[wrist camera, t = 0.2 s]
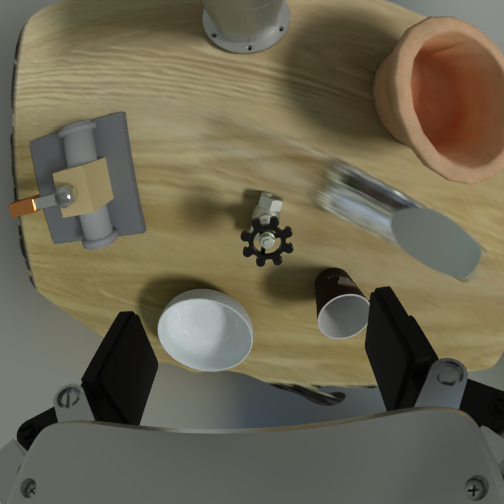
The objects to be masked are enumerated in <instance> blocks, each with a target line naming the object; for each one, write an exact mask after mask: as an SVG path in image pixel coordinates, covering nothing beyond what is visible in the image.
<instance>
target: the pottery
mask: <svg viewBox="0 0 504 504" xmlns="http://www.w3.org/2000/svg"><path fill="white" fill-rule="evenodd" d="M372 96H373V103H374V108H375V110H376V113H377V115H378V117H379V119H380V121H381V123H382V125H383V126H384V127H385V128H386V129H387V131H388V132H389V133H390V134H391V135H392V136H393V137H394V138H395V139H397V140H399V141H400V142H402V143H404V144H406V145H407V146H409V147H410V148H411V149H412V150H413V152H414V153H415V154H416V155H417V157H418V158H419V159H420V160H421V162H422V163H423V164H424V166H426V167H428V168H429V169H431V170H432V171H434V172H436V173H437V174H439V175H440V176H442V177H443V178H445V179H447V180H449V181H453V182H459V183H466V184H475V183H478V182H481V181H484V180H487V179H490V178H492V177H494V176H495V175H496V174H497V173H498V172H499V171H500V170H501V169H502V168H503V167H504V56H503V55H502V53H501V52H500V50H499V49H498V47H497V46H496V45H495V43H493V42H492V41H491V40H490V39H489V38H488V37H487V36H486V35H485V34H484V33H483V32H481V31H480V30H479V29H478V28H477V27H475V26H473V25H471V24H468V23H466V22H464V21H462V20H460V19H457V18H455V17H428V18H426V19H424V20H422V21H421V22H419V23H417V24H415V25H413V26H412V27H410V28H408V29H406V31H405V33H404V34H403V36H402V37H401V39H400V41H399V42H398V44H397V45H396V47H395V48H394V50H393V52H392V53H391V54H390V55H388V56H387V57H386V58H384V59H383V60H382V62H381V63H380V65H379V66H378V68H377V70H376V71H375V73H374V79H373V84H372Z"/></svg>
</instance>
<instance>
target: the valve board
mask: <svg viewBox="0 0 504 504" xmlns="http://www.w3.org/2000/svg"><path fill="white" fill-rule="evenodd" d="M61 129H62V130H61V131H58V132H55V133H53V134H50V135H47V136H45V137H42V138H40V139H37V140H34V141H32V142H30V146H31V152H32V158H33V163H34V169H35V173H36V178H37V183H38V187H39V192H40V196H43V195H47V194H50V193H54V192H56V190H57V189H58V188H60V187H62V186H64V185H71V186H72V187H73V188H75V190H76V194H77V199H76V201H75V202H74V203H73V204H72V205H70V206H69V207H67V208H60V207H59V206H58V205H55V206H50V207H46V208H44V212H45V215H46V219H47V222H48V226H49V229H50V233H51V236H52V239H53V242H54V244H57V243H65V242H73V241H81V240H82V244H83V247H84V248H86V249H90V250H96V249H100V248H104V247H106V246H108V245H110V244H112V243H113V242H114V241H115V240H116V239H117V238H118V236H123V235H132V234H141V233H144V232H145V231H146V226H145V222H144V217H143V212H142V208H141V203H140V198H139V193H138V188H137V183H136V177H135V172H134V166H133V160H132V154H131V148H130V142H129V135H128V128H127V121H126V113H125V112H120V113H116V114H112V115H109V116H105V117H101V118H98V119H95V120H85V121H80V122H76V123H73V124H70V125H67V126H64V127H62V128H61Z"/></svg>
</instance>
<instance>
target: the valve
mask: <svg viewBox="0 0 504 504" xmlns="http://www.w3.org/2000/svg"><path fill="white" fill-rule="evenodd" d="M282 204H283V199H282V198H281V197H279V196H277V195H275V194H272V193H267V192H261V195H260V198H259V201H258V205H257V206H256V207H255V208H254V210H253V212H252V224H251V227H250V230H249V232H247V230H244V231H242V233H241V240H242V241H248V242H249V247H246V246H245V247H244V248H243V255H244V256H245V257H250V256H251V255H252V254H254V255H255V256H257V257H258V258H256V264H257V265H258V266H259V267H262V266H264V265H265V261H266V260H267V259H272V260H273V263H274V264H275V265H280V264H281V263H282V257H281V256H280V254H281V253H282V252H286V253H291V252H293V245H292V243H290V242H289V244H288V243H286V238H288V237H291V236H292V229H291V228H290V227H289V226H286V227H285V229H283V230H281V229H280V228H279V227H277V226H278V225H279V220H280V210H281V207H282ZM274 232H276V233H274ZM275 238H281V244H280V247H279V248H278V249H277V250H276V251H275V252H273V253H268V254H267V253H265V249H268V248H272V247H273V244H274V243H275ZM254 239H257V240H259V242H260V245H261V246H262V247H261V251H258V250H257V249H256V248H255V246H254V242H253V241H254Z"/></svg>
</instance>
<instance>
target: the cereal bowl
mask: <svg viewBox="0 0 504 504" xmlns="http://www.w3.org/2000/svg"><path fill="white" fill-rule="evenodd" d="M158 336H159V340H160V342H161V344H162V346H163V348H164V349H165V350H166V352H167V353H168V354H169V355H170V356H171V357H173V358H174V359H175V360H177V361H178V362H180V363H182V364H184V365H186V366H188V367H191V368H194V369H197V370H202V371H222V370H226V369H230V368H232V367H234V366H236V365H238V364H239V363H241V362H242V361H243V360H244V359H245V358H246V357H247V356H248V354H249V352H250V350H251V348H252V343H253V327H252V323H251V320H250V318H249V315H248V314H247V312H246V310H245V309H244V307H242V305H240V304H239V303H238V302H237V301H236V300H235V299H233V298H232V297H230V296H228V295H227V294H225V293H222V292H219V291H215V290H211V289H194V290H189V291H186V292H184V293H181V294H179V295H177V296H176V297H174V298H173V299H172V300H171V301H170V302H169V303H168V304H167V306H166V307H165V309H164V310H163V312H162V314H161V316H160V319H159V321H158Z"/></svg>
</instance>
